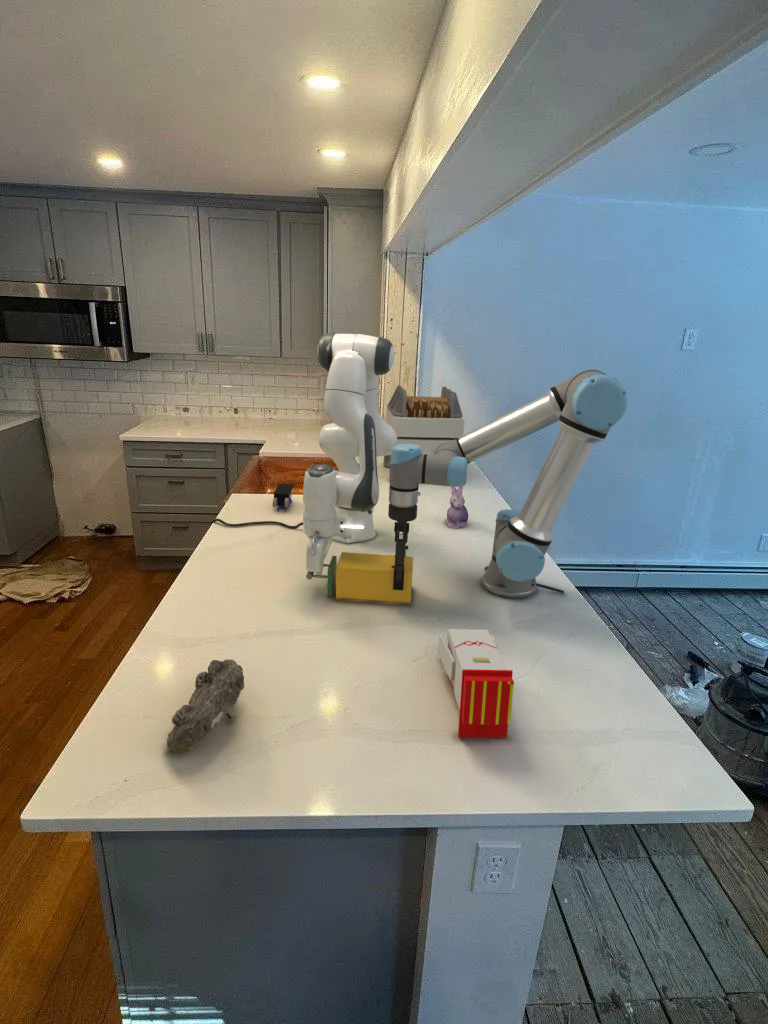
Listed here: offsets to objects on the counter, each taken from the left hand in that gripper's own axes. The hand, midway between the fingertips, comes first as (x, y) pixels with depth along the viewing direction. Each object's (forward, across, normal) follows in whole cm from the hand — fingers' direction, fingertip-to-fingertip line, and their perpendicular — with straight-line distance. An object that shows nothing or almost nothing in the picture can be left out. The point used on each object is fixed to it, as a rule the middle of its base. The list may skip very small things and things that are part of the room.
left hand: (319, 572), depth 156 cm
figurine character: (+5, +66, +26) cm, 71 cm away
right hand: (+1, 0, -22) cm, 22 cm away
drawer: (+5, 0, -9) cm, 11 cm away
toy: (+6, -40, -39) cm, 56 cm away
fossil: (+6, -53, +11) cm, 55 cm away
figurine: (+5, +59, -41) cm, 72 cm away
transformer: (+4, +126, -27) cm, 129 cm away
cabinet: (+6, 0, -15) cm, 16 cm away
